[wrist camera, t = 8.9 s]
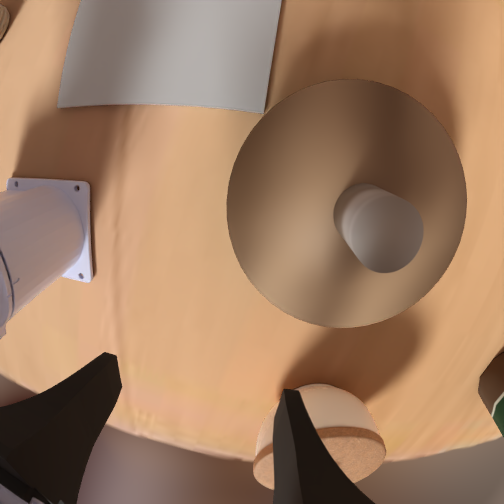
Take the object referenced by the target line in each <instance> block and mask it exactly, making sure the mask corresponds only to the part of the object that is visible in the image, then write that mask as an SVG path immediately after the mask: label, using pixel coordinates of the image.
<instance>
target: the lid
mask: <svg viewBox="0 0 504 504" xmlns="http://www.w3.org/2000/svg"><path fill="white" fill-rule="evenodd" d="M466 208H467V192H466V182H465V176H464V171H463V167H462V164H461V161H460V158H459V155H458V153H457V150H456V148H455V146H454V144H453V142H452V140H451V138H450V137H449V135H448V133H447V132H446V130H445V129H444V127H443V126H442V125H441V123H440V122H439V121H438V120H437V119H436V118H435V116H434V115H433V114H432V113H431V112H430V111H429V110H427V109H426V108H425V107H424V106H423V105H422V104H421V103H419V102H418V101H416V100H415V99H413V98H412V97H410V96H409V95H407V94H405V93H403V92H401V91H399V90H397V89H395V88H393V87H390V86H387V85H384V84H381V83H378V82H373V81H367V80H360V79H340V80H333V81H326V82H322V83H319V84H316V85H312V86H309V87H306V88H304V89H302V90H300V91H298V92H296V93H294V94H292V95H290V96H289V97H287V98H286V99H284V100H283V101H281V102H280V103H278V104H277V105H276V106H274V107H273V108H272V109H271V110H270V111H269V112H268V113H267V114H266V115H265V116H263V117H262V119H261V120H260V121H259V122H258V123H257V125H256V126H255V127H254V128H253V130H252V131H251V132H250V134H249V135H248V137H247V139H246V140H245V142H244V144H243V145H242V147H241V149H240V151H239V154H238V156H237V158H236V161H235V163H234V166H233V169H232V173H231V177H230V181H229V186H228V194H227V222H228V229H229V236H230V239H231V242H232V246H233V249H234V252H235V255H236V257H237V259H238V261H239V264H240V266H241V268H242V269H243V271H244V273H245V274H246V276H247V277H248V279H249V280H250V282H251V283H252V284H253V285H254V287H255V288H256V289H257V290H258V291H259V293H260V294H262V295H263V296H264V297H265V298H266V299H267V300H268V301H269V302H270V303H272V304H273V305H274V306H276V307H277V308H279V309H280V310H282V311H283V312H285V313H287V314H289V315H291V316H293V317H295V318H297V319H299V320H302V321H305V322H308V323H310V324H315V325H319V326H324V327H334V328H353V327H360V326H367V325H370V324H374V323H378V322H381V321H384V320H386V319H389V318H391V317H394V316H395V315H397V314H399V313H401V312H403V311H405V310H406V309H408V308H409V307H411V306H412V305H414V304H415V303H416V302H418V301H419V300H420V299H421V298H422V297H424V296H425V295H426V294H427V293H428V292H429V291H430V290H431V289H432V288H433V287H434V285H435V284H436V283H437V282H438V281H439V280H440V278H441V277H442V275H443V274H444V273H445V271H446V270H447V268H448V266H449V265H450V263H451V261H452V259H453V257H454V255H455V253H456V250H457V248H458V246H459V243H460V240H461V237H462V233H463V230H464V224H465V218H466Z"/></svg>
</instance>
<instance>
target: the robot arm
mask: <svg viewBox="0 0 504 504" xmlns="http://www.w3.org/2000/svg"><path fill="white" fill-rule="evenodd" d="M17 183H18V184H17ZM77 185H78V186H79V188H80V190H79V191H78V189H77ZM81 273H82V274H83V276H84V277H83V276H82V275H81ZM61 276H62V277H66V278H70V279H74V280H78V281H82V282H86V283H89V282H91V281H92V280H93V268H92V254H91V234H90V185H89V183H88V182H86V181H74V180H58V179H39V178H13V177H12V178H9V179H8V180H7V190H6V191H3V192H0V339H1V338H2V337H3V336H4V335H5V334H6V323H7V322H8V321H9V320H10V319H11V318H12V317H13V316H14V315H16V314H17V313H18V312H19V311H20V310H21V309H22V308H23V307H25V306H26V305H27V304H28V303H29V302H30V301H32V300H33V299H34V298H35V297H36V296H37V295H39V294H40V293H41V292H42V291H43V290H45V289H46V288H47V287H48V286H49V285H51V284H52V283H53V282H54V281H56V280H57V279H58V278H59V277H61ZM121 389H122V383H121V378H120V373H119V367H118V361H117V356H116V355H113V354H110V353H106V352H104V353H102V354H101V355H100V356H98V357H97V358H95V359H94V360H92V361H91V362H90V363H88V364H87V365H85V366H84V367H83V368H81V369H80V370H78V371H77V372H75V373H74V374H73V375H71V376H70V377H68V378H67V379H65V380H63V381H62V382H60V383H58V384H57V385H55V386H53V387H52V388H50V389H48V390H46V391H44V392H42V393H40V394H38V395H36V396H33V397H31V398H28V399H26V400H23V401H20V402H17V403H14V404H11V405H8V406H4V407H0V504H76V503H77V498H78V493H79V489H80V485H81V482H82V477H83V474H84V471H85V468H86V465H87V462H88V459H89V456H90V454H91V451H92V448H93V446H94V443H95V442H96V440H97V438H98V436H99V434H100V432H101V430H102V429H103V427H104V425H105V423H106V421H107V420H108V418H109V416H110V414H111V412H112V410H113V408H114V407H115V404H116V402H117V399H118V397H119V394H120V391H121ZM273 463H274V498H273V504H375V503H374V502H373V501H371V500H370V499H369V498H368V497H367V496H366V495H365V494H364V493H362V491H360V490H359V489H358V488H357V486H355V484H354V483H353V482H352V481H351V480H350V479H349V478H348V477H347V476H346V475H345V473H344V472H343V471H342V470H341V468H340V467H339V466H338V464H337V463H336V462H335V460H334V459H333V458H332V456H331V455H330V453H329V452H328V450H327V448H326V447H325V445H324V443H323V442H322V440H321V438H320V436H319V435H318V433H317V431H316V429H315V427H314V425H313V423H312V421H311V419H310V416H309V414H308V412H307V410H306V407H305V405H304V402H303V399H302V397H301V394H300V392H299V391H298V390H291V389H283V392H282V396H281V399H280V402H279V405H278V408H277V411H276V414H275V416H274V425H273Z"/></svg>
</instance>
